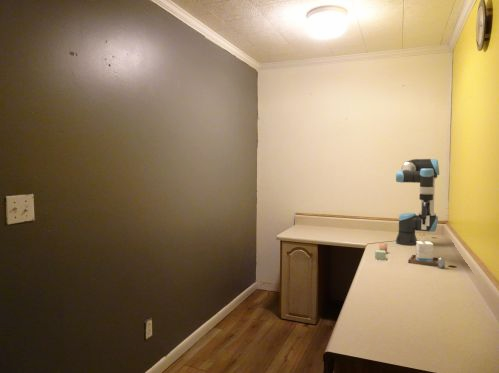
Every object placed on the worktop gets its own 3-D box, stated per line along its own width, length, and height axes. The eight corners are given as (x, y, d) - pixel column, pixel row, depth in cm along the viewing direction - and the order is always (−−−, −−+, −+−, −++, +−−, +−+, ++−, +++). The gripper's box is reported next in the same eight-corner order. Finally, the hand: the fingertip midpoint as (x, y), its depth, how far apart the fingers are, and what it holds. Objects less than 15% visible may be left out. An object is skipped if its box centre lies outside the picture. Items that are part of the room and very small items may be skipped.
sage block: (374, 257, 235) (375, 249, 235) (384, 257, 233) (384, 250, 233) (375, 259, 229) (375, 252, 229) (385, 260, 227) (385, 252, 227)
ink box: (433, 263, 218) (433, 241, 217) (418, 262, 220) (418, 240, 219) (429, 259, 226) (430, 238, 225) (415, 258, 228) (416, 238, 227)
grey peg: (437, 266, 213) (438, 256, 212) (444, 267, 211) (445, 257, 210) (437, 268, 210) (437, 258, 209) (444, 269, 208) (444, 258, 207)
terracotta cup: (380, 251, 250) (380, 243, 250) (387, 252, 247) (388, 243, 247) (378, 253, 246) (378, 244, 245) (386, 254, 243) (386, 245, 243)
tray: (412, 257, 233) (412, 254, 233) (440, 261, 225) (440, 258, 225) (408, 262, 221) (408, 259, 221) (437, 266, 212) (437, 263, 212)
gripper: (422, 191, 233) (421, 223, 234) (416, 195, 212) (415, 230, 214) (435, 192, 228) (434, 224, 230) (430, 195, 208) (429, 231, 209)
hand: (425, 227), depth 222 cm, fingers open, 13 cm apart
